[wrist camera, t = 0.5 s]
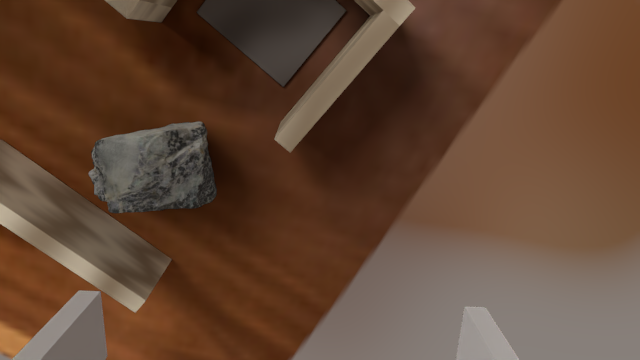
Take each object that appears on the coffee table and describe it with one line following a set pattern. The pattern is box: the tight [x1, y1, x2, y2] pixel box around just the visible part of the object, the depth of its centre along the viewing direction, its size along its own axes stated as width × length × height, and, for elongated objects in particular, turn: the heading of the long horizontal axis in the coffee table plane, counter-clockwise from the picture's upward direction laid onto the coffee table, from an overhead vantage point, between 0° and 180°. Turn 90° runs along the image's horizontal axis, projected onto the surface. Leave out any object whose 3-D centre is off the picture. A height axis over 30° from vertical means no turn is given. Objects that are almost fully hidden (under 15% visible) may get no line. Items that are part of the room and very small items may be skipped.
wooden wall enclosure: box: [0, 0, 415, 313], centre depth 34 cm, size 19×32×7 cm, turn 139°
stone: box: [89, 122, 217, 213], centre depth 36 cm, size 10×10×10 cm
